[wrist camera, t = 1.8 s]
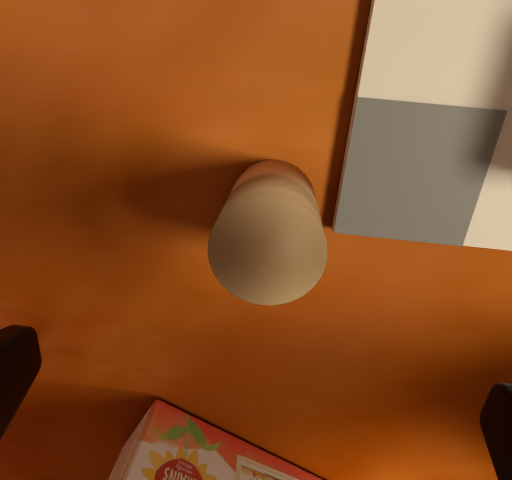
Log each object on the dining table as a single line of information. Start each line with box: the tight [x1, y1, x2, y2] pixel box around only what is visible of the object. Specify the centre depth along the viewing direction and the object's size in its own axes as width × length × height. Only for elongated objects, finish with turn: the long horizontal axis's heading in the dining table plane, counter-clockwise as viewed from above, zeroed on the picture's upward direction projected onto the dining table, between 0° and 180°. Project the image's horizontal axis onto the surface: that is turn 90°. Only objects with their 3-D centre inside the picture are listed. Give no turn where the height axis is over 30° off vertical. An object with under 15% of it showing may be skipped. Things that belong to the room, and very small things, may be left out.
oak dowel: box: [208, 160, 328, 305], centre depth 15 cm, size 4×4×6 cm
